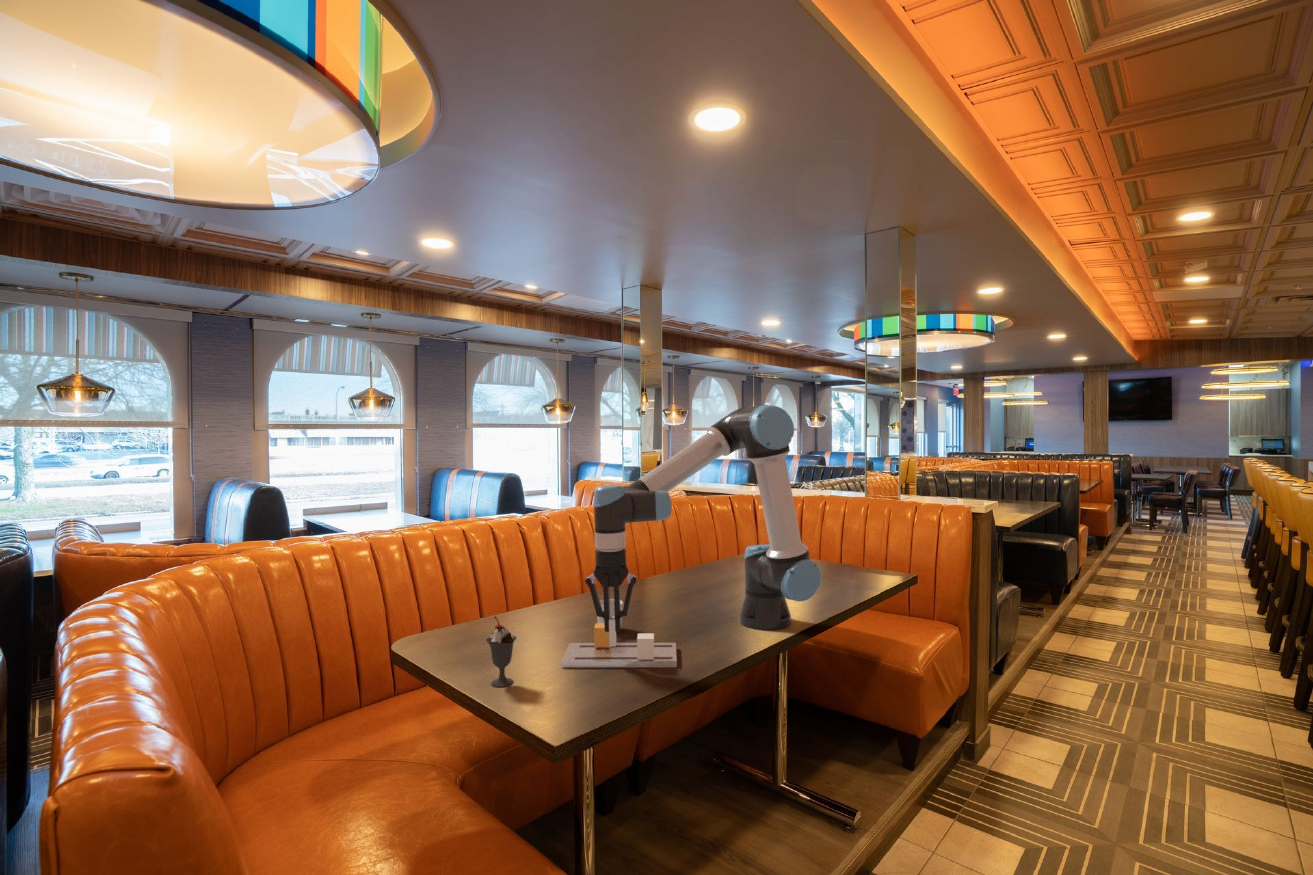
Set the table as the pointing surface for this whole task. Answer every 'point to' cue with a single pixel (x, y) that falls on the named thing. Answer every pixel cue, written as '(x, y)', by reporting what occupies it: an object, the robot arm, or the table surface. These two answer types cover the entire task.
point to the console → (617, 656)
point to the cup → (612, 611)
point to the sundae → (501, 652)
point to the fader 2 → (645, 646)
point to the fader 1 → (600, 636)
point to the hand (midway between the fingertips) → (613, 644)
